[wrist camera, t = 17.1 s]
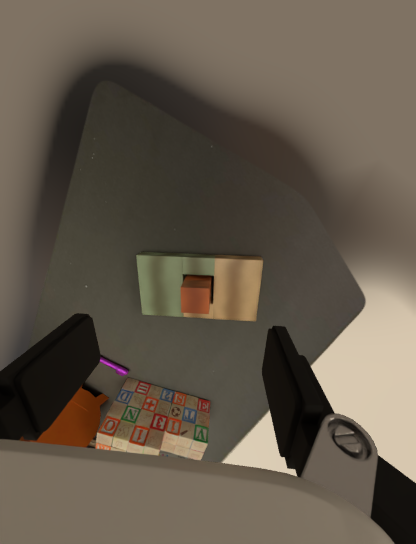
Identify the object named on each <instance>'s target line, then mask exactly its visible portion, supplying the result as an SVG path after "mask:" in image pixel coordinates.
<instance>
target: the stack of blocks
mask: <svg viewBox="0 0 416 544" xmlns="http://www.w3.org/2000/svg"><path fill="white" fill-rule="evenodd" d="M209 412H210V401H207V400H203V399H198V398H197V397H194V396H190V395H186V394H183V393H180V392H176V391H172V390H168V389H165V388H161V387H158V386H154V385H151V384H148V383H145V382H141V381H138V380H135V379H131V378H127V380H126V381H125V383H124V385H123V387H122V389H121V391H120V392H119V394H118V396H117V398H116V399H115V401H114V402H113V404H112V406H111V408H110V409H109V411H108V413H107V415H106V418H105V420H104V422H103V423H102V425H101V427H100V429H99V430H98V432H97V438H96V446H95V449H103V450H112V451H121V452H130V453H139V454H148V455H157V456H159V452H160V450H162V451H166V452H170V453H173V454H176V455H180V456H184V457H188V458H191V459H195V460H201V458H202V456H203V454H204V451H205V449H206V447H207V444H208V432H209V428H208V427H209V416H210V414H209Z"/></svg>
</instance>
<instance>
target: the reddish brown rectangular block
mask: <svg viewBox="0 0 416 544" xmlns="http://www.w3.org/2000/svg"><path fill="white" fill-rule="evenodd" d="M211 289H212V276H210V275H189V274H187V276H186V278H185V280H184V282H183V284H182V285H181V313H196V314H209V309H210V301H211Z"/></svg>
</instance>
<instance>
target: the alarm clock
mask: <svg viewBox="0 0 416 544" xmlns="http://www.w3.org/2000/svg"><path fill="white" fill-rule="evenodd" d="M108 398H109V397H107V396H106V395H104V394H103V393H102V394H101V395H99V396H97V397H96V398H95V397H94V396H93V395H92V394H91V393H90V392H89V391H86V390H84V389H82V386H81V387H80V388H79V390H78V391H77V392H76V394H75V395H74V396H73V398H72V399H71V400H70V401H69V403H68V404H67V405H66V407H65V408H64V409H63V411H62V412H61V413H60V415H59V416H58V417H57V419H56V420H55V421H54V422H53V424H52V425H51V426H50V428H49V429H48V430H46V431H45V432H43V433H42V435H41V436H40V437H39V438H38V440H37V441H33V440H24V438H23V436H22V437H21V439H20V440H19V441H27V442H37V443H46V444H56V445H66V446H75V447H85V448H86V447H87V446H88V445H89V443H90V442H91V441H92V439H93V438H94V436H95V435H96V432H97V430H98V427H99V424H100V417H101V413H100V406H101V405H102V404H103V403H104V402H105V401H106V400H107V399H108Z"/></svg>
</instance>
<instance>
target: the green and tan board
mask: <svg viewBox="0 0 416 544" xmlns="http://www.w3.org/2000/svg"><path fill="white" fill-rule="evenodd" d="M136 258H137V268H138V277H139V287H140V297H141V306H142V314H143V315H160V316H177V317H195V318H213V319H227V320H244V321H256V315H257V307H258V299H259V291H260V283H261V275H262V267H263V259H262V258H261V257H258V256H233V255H208V254H184V253H159V252H141V253H139V254H137V255H136ZM185 274H189V275H210V276H214V293H213V298H211V301H210V309H209V314H196V313H181V285H182V284H183V282H184V280H185Z"/></svg>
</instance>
